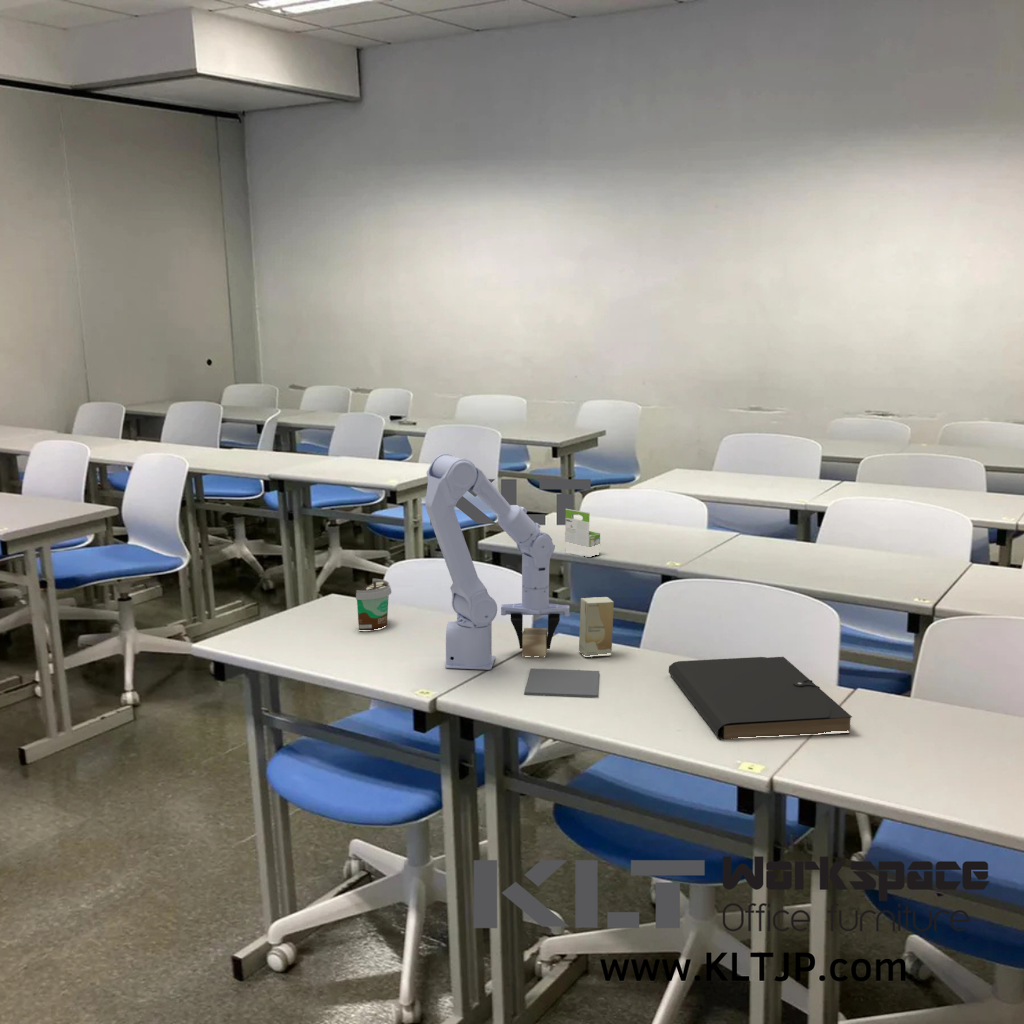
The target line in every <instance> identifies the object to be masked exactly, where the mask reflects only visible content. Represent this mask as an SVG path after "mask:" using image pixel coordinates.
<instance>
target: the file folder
mask: <svg viewBox="0 0 1024 1024" xmlns="http://www.w3.org/2000/svg"><path fill="white" fill-rule="evenodd" d="M668 674H670V676H671V678H673V681H675V683H676V684H677V685H678V687H679V688H680V689H681V690H682V692H683V693H684V695H685V696H686V697H687V699H688V700H689V701H690V702H691V703H692V705H693V706H694V708H695V709H696V710H697V712H698V713H699V714H700V715H701V716H702V718H703V719H704V721H705V722H706V723H707V725H708V727H710V728H711V730H712V731H713V733H714V734H715V735H716V736H717V737H718V739H719V740H721V738H720V737H719V731H720V732H721V734H722V735H723V740H734V739H733V738H738V737H756V736H779V735H800V734H818V733H824V732H825V733H826V732H831V731H847V730H849V731H851V721H852V720H851V719H852V718H853V716H852V715H851V714H849V712H847V711H846V710H845V709H844V708H842V706H841V705H839V704H838V703H837V702H836V701H835V700H834V699H833V698H831V696H829V695H828V694H827V693H826V692H825V691H823V690H822V689H821V688H820V686H818V685H817V684H815V683H814V682H813V680H812V679H810V678H808V676H807V675H805V674H804V673H803V672H802V671H801V670H799V669H798V668H797V667H796V666H795V665H794V664H792V663H791V661H789V660H788V659H787V658H786V657H784V656H773V657H772V656H771V657H766V656H756V657H755V656H753V657H752V656H751V657H738V658H737V657H736V658H735V657H734V658H720V659H719V658H718V659H717V658H716V659H714V658H712V659H697V660H695V659H694V660H693V659H691V660H678V661H675V662H673V663H671V664H670V665H669V666H668ZM729 738H730V739H729ZM731 738H732V739H731Z"/></svg>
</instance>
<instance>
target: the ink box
mask: <svg viewBox="0 0 1024 1024" xmlns="http://www.w3.org/2000/svg"><path fill="white" fill-rule="evenodd" d="M573 515H579V516H581V517H582V519H577V518H573ZM564 541H565V542H569V543H573V544H577V545H581V546H586V547H592V546H595V545H598V544H600V545H601V533H600V532H597V531H590V512H586V511H583V510H582V511H581V510H577V509H576V510H575V509H570V508H565V532H564ZM565 542H564V543H565Z"/></svg>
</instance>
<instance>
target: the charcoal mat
mask: <svg viewBox="0 0 1024 1024" xmlns="http://www.w3.org/2000/svg"><path fill="white" fill-rule="evenodd" d="M599 681H600V671H599V670H589V669H588V670H587V669H586V670H584V669H583V670H581V669H557V668H535V667H534V668H532V667H531V668H529V673H528V677H527V679H526V685H525V687H524V688H525V689H524V692H523V695H524V696H543V695H545V696H547V697H548V696H549V697H571V698H592V697H598V696H599V684H598V683H600V682H599ZM598 698H599V697H598Z"/></svg>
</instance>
